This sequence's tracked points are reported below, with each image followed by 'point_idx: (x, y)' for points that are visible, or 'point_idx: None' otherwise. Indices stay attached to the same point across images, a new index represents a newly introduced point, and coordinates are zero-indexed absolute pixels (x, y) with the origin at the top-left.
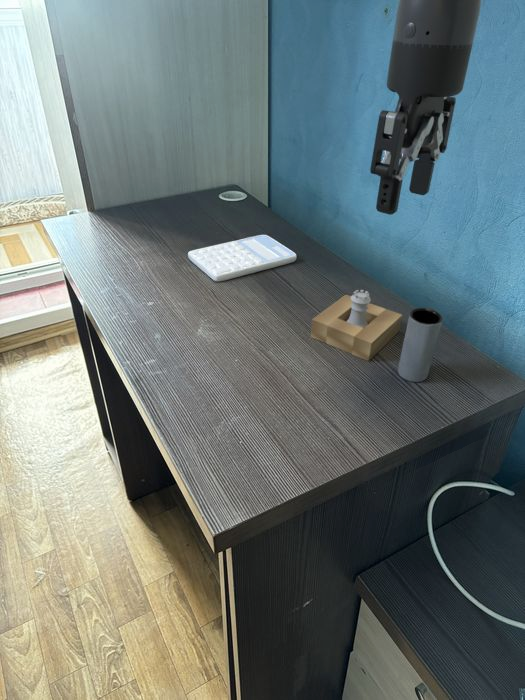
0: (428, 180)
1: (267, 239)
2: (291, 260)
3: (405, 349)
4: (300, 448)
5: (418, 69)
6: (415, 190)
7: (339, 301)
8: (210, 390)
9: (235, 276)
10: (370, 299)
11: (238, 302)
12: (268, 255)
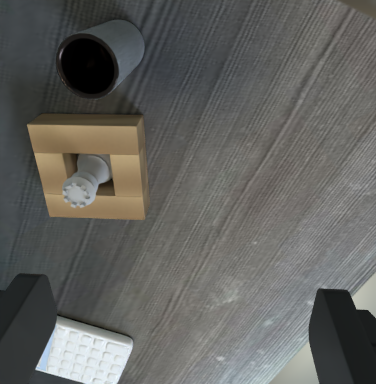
0: (13, 319)
1: None
2: None
3: (131, 70)
4: (368, 95)
5: None
6: (48, 310)
7: (74, 214)
8: (323, 233)
9: (107, 331)
10: (68, 179)
11: (149, 301)
12: None
